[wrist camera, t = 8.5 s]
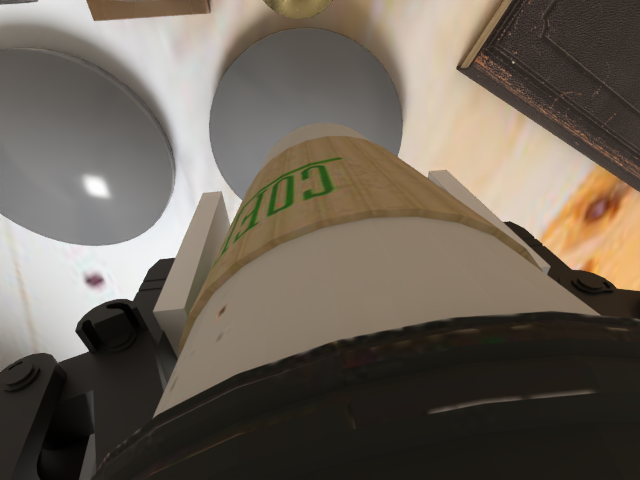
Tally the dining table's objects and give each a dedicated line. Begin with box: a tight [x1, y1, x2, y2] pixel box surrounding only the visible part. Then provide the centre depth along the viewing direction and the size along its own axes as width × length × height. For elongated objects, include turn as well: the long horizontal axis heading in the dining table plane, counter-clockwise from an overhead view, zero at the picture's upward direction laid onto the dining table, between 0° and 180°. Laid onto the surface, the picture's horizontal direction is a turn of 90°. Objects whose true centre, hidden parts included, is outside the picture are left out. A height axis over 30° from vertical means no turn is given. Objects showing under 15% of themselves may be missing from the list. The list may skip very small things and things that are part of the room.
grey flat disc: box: [0, 48, 175, 246], centre depth 22 cm, size 13×13×1 cm
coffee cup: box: [90, 123, 640, 480], centre depth 10 cm, size 10×10×15 cm
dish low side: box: [209, 28, 403, 200], centre depth 23 cm, size 13×13×1 cm
